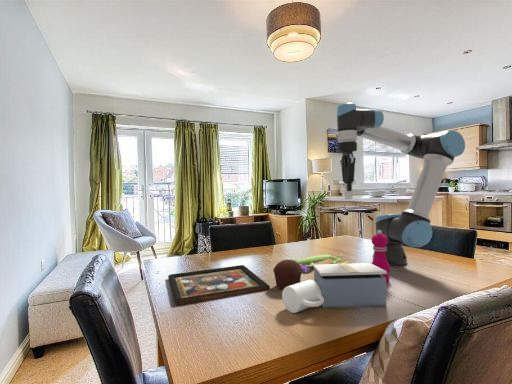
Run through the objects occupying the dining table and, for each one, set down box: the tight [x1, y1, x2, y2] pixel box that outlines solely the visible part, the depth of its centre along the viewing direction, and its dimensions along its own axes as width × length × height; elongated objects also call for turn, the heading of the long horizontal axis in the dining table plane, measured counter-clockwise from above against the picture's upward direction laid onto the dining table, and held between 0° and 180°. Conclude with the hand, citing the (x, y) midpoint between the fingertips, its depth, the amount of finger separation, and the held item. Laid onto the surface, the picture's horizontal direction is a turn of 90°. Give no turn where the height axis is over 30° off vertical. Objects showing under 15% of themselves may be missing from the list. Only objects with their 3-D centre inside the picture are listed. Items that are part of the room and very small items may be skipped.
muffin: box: [272, 259, 303, 291], centre depth 112 cm, size 12×11×10 cm
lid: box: [312, 262, 387, 276], centre depth 98 cm, size 21×14×1 cm
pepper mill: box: [371, 230, 391, 283], centre depth 115 cm, size 7×7×20 cm
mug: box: [281, 279, 324, 314], centre depth 91 cm, size 12×10×8 cm
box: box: [313, 267, 387, 309], centre depth 98 cm, size 20×14×9 cm
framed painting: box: [167, 264, 271, 307], centre depth 118 cm, size 38×35×3 cm
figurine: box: [293, 254, 353, 273], centre depth 135 cm, size 18×27×6 cm
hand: (348, 198), depth 120 cm, fingers closed
